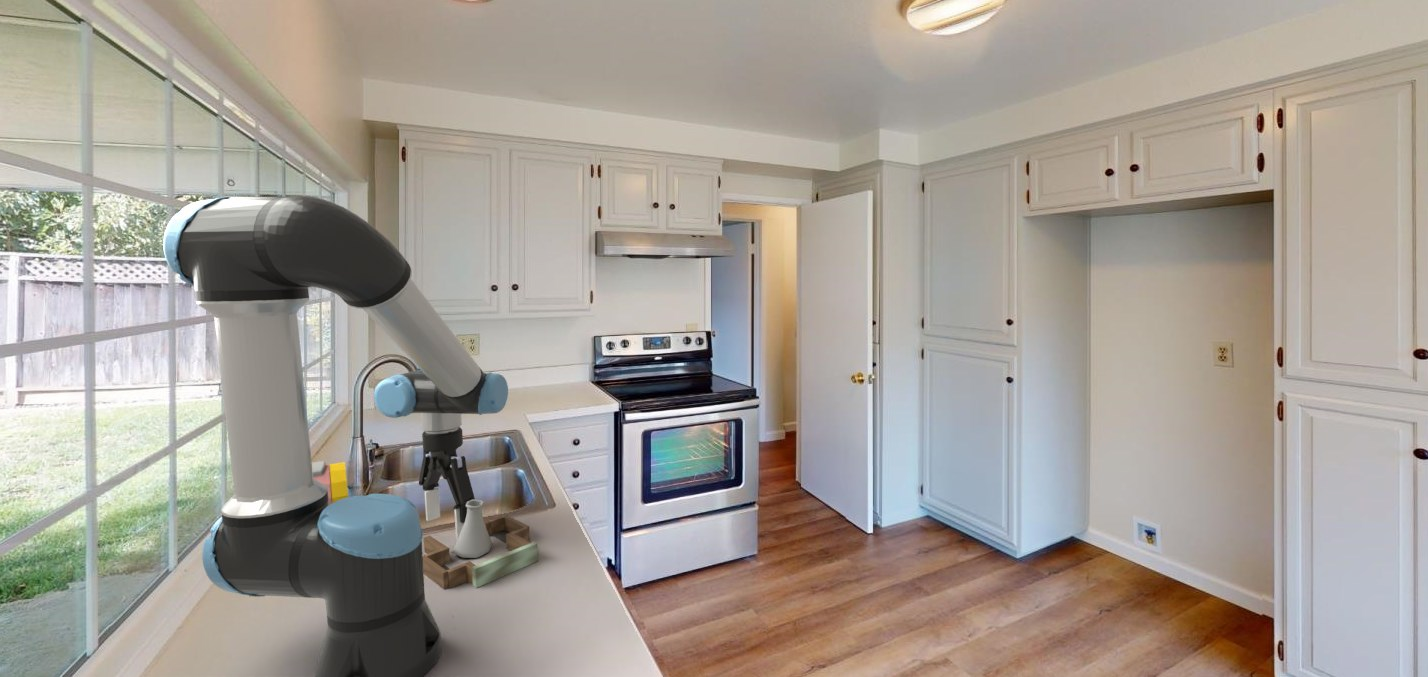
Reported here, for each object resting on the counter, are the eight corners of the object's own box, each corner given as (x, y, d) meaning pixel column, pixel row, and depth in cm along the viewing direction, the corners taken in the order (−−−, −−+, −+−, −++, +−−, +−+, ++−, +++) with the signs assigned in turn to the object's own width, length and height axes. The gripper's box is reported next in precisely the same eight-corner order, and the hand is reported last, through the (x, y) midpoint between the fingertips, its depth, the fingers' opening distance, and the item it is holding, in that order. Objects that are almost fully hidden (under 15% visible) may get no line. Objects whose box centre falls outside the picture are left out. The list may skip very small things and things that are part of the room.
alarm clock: (302, 542, 116) (295, 457, 114) (349, 532, 120) (343, 450, 119) (300, 572, 103) (292, 477, 102) (352, 559, 108) (346, 468, 106)
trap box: (454, 597, 95) (453, 578, 94) (404, 559, 108) (403, 542, 108) (555, 553, 110) (554, 536, 110) (499, 524, 124) (499, 509, 123)
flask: (498, 543, 114) (501, 498, 112) (478, 562, 107) (481, 514, 105) (466, 536, 115) (468, 491, 113) (444, 555, 108) (446, 507, 106)
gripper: (490, 435, 110) (495, 537, 112) (433, 416, 126) (438, 506, 128) (452, 443, 105) (458, 551, 107) (398, 423, 120) (404, 517, 122)
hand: (447, 527), depth 117 cm, fingers open, 13 cm apart
